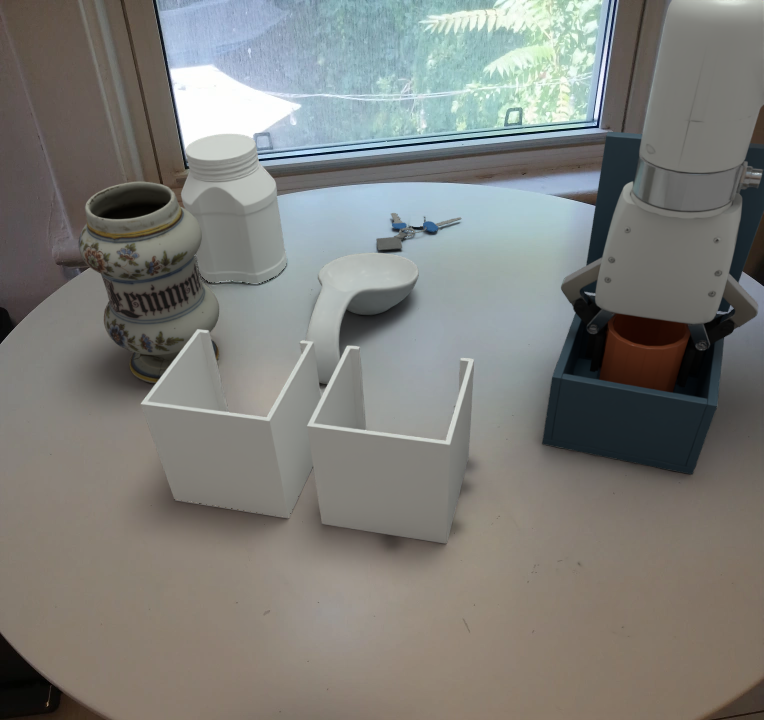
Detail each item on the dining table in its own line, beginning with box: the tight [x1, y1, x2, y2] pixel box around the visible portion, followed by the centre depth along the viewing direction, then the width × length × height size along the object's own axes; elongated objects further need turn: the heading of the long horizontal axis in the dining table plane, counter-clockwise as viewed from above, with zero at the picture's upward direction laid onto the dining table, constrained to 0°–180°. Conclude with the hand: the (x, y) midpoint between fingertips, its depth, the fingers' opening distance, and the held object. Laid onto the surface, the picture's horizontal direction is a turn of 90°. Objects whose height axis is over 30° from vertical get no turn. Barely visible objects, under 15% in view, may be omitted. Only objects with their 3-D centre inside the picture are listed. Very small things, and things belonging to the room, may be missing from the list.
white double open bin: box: [140, 329, 475, 545], centre depth 63 cm, size 25×11×11 cm, turn 76°
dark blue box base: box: [541, 294, 725, 475], centre depth 69 cm, size 15×14×8 cm
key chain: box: [376, 212, 463, 251], centre depth 101 cm, size 14×8×1 cm, turn 132°
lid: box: [583, 130, 764, 313], centre depth 66 cm, size 15×14×5 cm
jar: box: [180, 133, 288, 286], centre depth 91 cm, size 12×10×15 cm
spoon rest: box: [304, 252, 420, 385], centre depth 82 cm, size 24×12×7 cm, turn 165°
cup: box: [596, 313, 691, 393], centre depth 68 cm, size 7×7×8 cm
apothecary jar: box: [77, 181, 220, 385], centre depth 75 cm, size 12×12×18 cm
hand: (638, 369), depth 68 cm, fingers closed on cup, 7 cm apart
